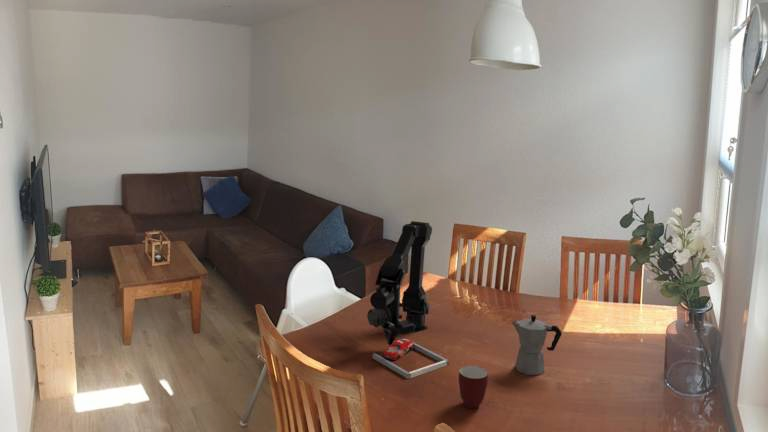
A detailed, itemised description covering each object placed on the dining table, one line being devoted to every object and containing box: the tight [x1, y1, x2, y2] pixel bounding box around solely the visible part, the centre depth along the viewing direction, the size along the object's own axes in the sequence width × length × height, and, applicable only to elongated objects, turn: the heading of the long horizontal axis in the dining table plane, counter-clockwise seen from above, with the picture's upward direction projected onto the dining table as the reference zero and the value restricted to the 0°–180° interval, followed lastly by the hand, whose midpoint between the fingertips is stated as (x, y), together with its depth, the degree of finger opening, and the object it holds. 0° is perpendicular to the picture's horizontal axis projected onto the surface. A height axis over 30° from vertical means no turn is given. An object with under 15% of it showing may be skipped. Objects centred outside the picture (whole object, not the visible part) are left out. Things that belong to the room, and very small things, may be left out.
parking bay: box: [372, 341, 450, 380], centre depth 204 cm, size 17×18×2 cm
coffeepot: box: [511, 314, 563, 376], centre depth 199 cm, size 15×9×18 cm, turn 68°
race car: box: [383, 338, 414, 361], centre depth 210 cm, size 13×5×4 cm, turn 146°
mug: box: [458, 365, 489, 409], centre depth 178 cm, size 11×8×10 cm
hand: (389, 344), depth 212 cm, fingers closed
